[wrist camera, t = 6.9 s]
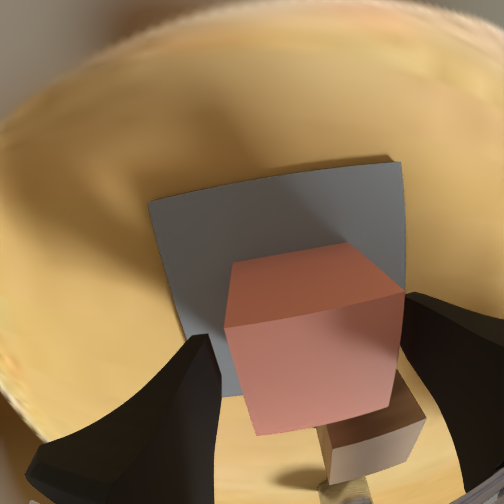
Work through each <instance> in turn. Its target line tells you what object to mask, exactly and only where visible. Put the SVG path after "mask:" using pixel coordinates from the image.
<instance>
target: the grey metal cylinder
mask: <svg viewBox="0 0 504 504" xmlns="http://www.w3.org/2000/svg"><path fill="white" fill-rule="evenodd" d="M318 493H319V498H320V503H321V504H373V500H372V497H371V494H370V490H369V487H368V484H367V481H366V478H365V476H363V477H360V478H356V479H352V480H349V481H345V482H341V483H337V484H333V485H329V483H328V479H327V480H325V481H324V482H322V483H321V484H319V486H318Z"/></svg>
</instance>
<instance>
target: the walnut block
mask: <svg viewBox="0 0 504 504" xmlns="http://www.w3.org/2000/svg"><path fill="white" fill-rule="evenodd" d="M425 421H426V416H425V414H424V413H423V411H422V409H421V407H420V406H419V404H418V402H417V401H416V399H415V398H414V396H413V394H412V393H411V391H410V389H409V388H408V386H407V385H406V383H405V381H404V380H403V378H402V377H401V375H400V373H399V372H398V370H397V369H396V372H395V377H394V382H393V387H392V392H391V397H390V401H389V406H388V407H386V408H383V409H380V410H377V411H373V412H370V413H367V414H364V415H360V416H357V417H353V418H349V419H346V420H342V421H338V422H334V423H329V424H325V425H321V426H316V430H317V434H318V438H319V443H320V447H321V451H322V456H323V460H324V465H325V469H326V474H327V478H328V483H329V485H333V484H337V483H341V482H345V481H349V480H352V479H356V478H360V477H363V476H366V475H369V474H373V473H376V472H379V471H382V470H385V469H387V468H390V467H393V466H396V465H398V464H401V463H403V462H406V460H407V458H408V457H409V455H410V453H411V451H412V449H413V447H414V445H415V443H416V441H417V438H418V436H419V434H420V432H421V430H422V428H423V425H424V423H425Z"/></svg>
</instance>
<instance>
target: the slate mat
mask: <svg viewBox="0 0 504 504" xmlns="http://www.w3.org/2000/svg"><path fill="white" fill-rule="evenodd" d="M147 204H148V209H149V213H150V217H151V221H152V225H153V229H154V233H155V237H156V241H157V245H158V248H159V252H160V256H161V259H162V263H163V266H164V270H165V273H166V277H167V280H168V283H169V287H170V290H171V293H172V296H173V300H174V303H175V306H176V309H177V312H178V315H179V318H180V321H181V324H182V327H183V330H184V333H185V335H186V338H187V340H188V339H189V338H190V337H191V336H192V335H198V334H206V333H208V334H209V337H210V340H211V344H212V347H213V350H214V353H215V356H216V359H217V362H218V365H219V368H220V371H221V374H222V397H230V396H240V395H243V392H242V389H241V386H240V383H239V379H238V376H237V373H236V369H235V366H234V363H233V359H232V356H231V352H230V349H229V345H228V342H227V338H226V335H225V331H224V323H225V315H226V307H227V300H228V292H229V285H230V278H231V271H232V264H233V262H239V261H245V260H250V259H256V258H262V257H268V256H273V255H279V254H284V253H290V252H296V251H301V250H307V249H312V248H318V247H323V246H329V245H335V244H340V243H346V242H348V243H350V244H351V245H352V246H353V247H355V248H356V249H357V250H358V251H359V252H361V253H362V254H363V255H364V256H365V257H366V258H368V259H369V260H370V261H371V262H372V263H374V264H375V265H376V266H377V267H378V268H379V269H380V270H382V271H383V272H384V273H385V274H386V275H387V276H388V277H390V278H391V279H392V280H393V281H394V282H395V283H396V284H397V285H399V286H400V287H401V288H402V289H403V290H405V267H406V227H405V204H404V189H403V178H402V168H401V162H386V163H374V164H363V165H354V166H344V167H336V168H327V169H319V170H312V171H304V172H297V173H291V174H284V175H278V176H271V177H265V178H259V179H254V180H248V181H242V182H237V183H232V184H227V185H221V186H216V187H212V188H207V189H202V190H197V191H193V192H188V193H184V194H179V195H175V196H170V197H166V198H162V199H158V200H154V201H150V202H148V203H147Z"/></svg>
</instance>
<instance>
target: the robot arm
mask: <svg viewBox="0 0 504 504" xmlns="http://www.w3.org/2000/svg"><path fill="white" fill-rule="evenodd" d="M400 346H401V348H402V350H403V352H404V354H405V356H406V358H407V359H408V361H409V362H410V364H411V365H412V367H413V368H414V370H415V371H416V373H417V374H418V376H419V377H420V379H421V380H422V381H423V383H424V384H425V386H426V387H427V389H428V390H429V392H430V393H431V395H432V396H433V398H434V400H435V401H436V403H437V405H438V407H439V409H440V411H441V413H442V415H443V417H444V420H445V422H446V424H447V427H448V429H449V432H450V434H451V437H452V440H453V443H454V446H455V449H456V452H457V456H458V459H459V463H460V468H461V472H462V477H463V483H464V490H465V492H466V494H465V495H463V496H461V497H460V498H458V499H456V500H455V501H453V502H451V503H449V504H483V503H484V502H486V501H487V500H489V499H490V498H491V497H493V496H494V495H495V494H497V493H498V492H499V491H500V492H499V494H498V498H497V500H496V501H495V502H494V503H493V504H504V320H503V319H499V318H494V317H490V316H486V315H483V314H479V313H476V312H473V311H470V310H467V309H464V308H461V307H458V306H455V305H452V304H450V303H447V302H444V301H442V300H439V299H436V298H433V297H430V296H427V295H424V294H421V293H417V292H412V293H409V294H405V300H404V312H403V322H402V331H401V339H400ZM221 400H222V374H221V371H220V368H219V365H218V362H217V359H216V356H215V353H214V350H213V347H212V344H211V340H210V337H209V334H208V333H206V334H198V335H192V336H191V337H190V338H189V339H188V340H187V341H186V342H185V343H184V345H183V346H182V347H181V348H180V349H179V350H178V351H177V353H176V354H175V355H174V356H173V357H172V358H171V359H170V361H169V362H168V363H167V364H166V365H165V366H164V367H163V368H162V369H161V370H160V371H159V372H158V373H157V374H156V375H155V376H154V377H153V378H152V379H151V380H150V381H149V382H148V383H147V384H146V385H145V386H144V387H143V388H142V389H141V390H140V391H139V392H137V393H136V394H135V395H134V396H133V397H131V398H130V399H129V400H128V401H126V402H125V403H124V404H122V405H121V406H120V407H118V408H117V409H115V410H114V411H112V412H111V413H109V414H108V415H106V416H104V417H103V418H101V419H100V420H98V421H96V422H95V423H93V424H91V425H89V426H87V427H85V428H83V429H81V430H79V431H77V432H75V433H73V434H70V435H68V436H65V437H63V438H60V439H57V440H54V441H51V442H49V443H46V444H42V445H40V446H39V448H38V450H37V452H36V453H35V455H34V457H33V459H32V461H31V463H30V465H29V467H28V469H27V471H26V473H25V476H26V479H27V480H28V482H29V483H30V484H31V485H32V486H33V487H35V488H36V489H37V490H38V491H39V492H41V493H42V494H43V495H45V496H46V497H47V498H49V499H50V500H51V501H53V502H54V503H56V504H214V451H215V442H216V435H217V428H218V421H219V415H220V407H221ZM29 504H39V503H37V502H35V501H33V500H32V501H30V503H29Z"/></svg>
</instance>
